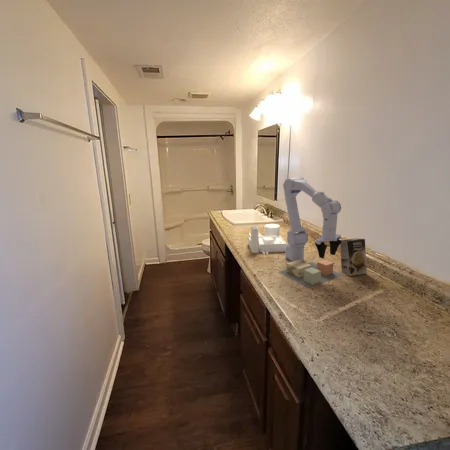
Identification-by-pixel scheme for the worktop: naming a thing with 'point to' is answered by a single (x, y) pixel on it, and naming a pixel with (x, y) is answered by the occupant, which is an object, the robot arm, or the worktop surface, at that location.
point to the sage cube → (312, 275)
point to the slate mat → (301, 281)
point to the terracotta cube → (325, 267)
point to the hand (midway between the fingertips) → (327, 256)
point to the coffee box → (353, 257)
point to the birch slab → (297, 267)
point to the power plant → (266, 240)
